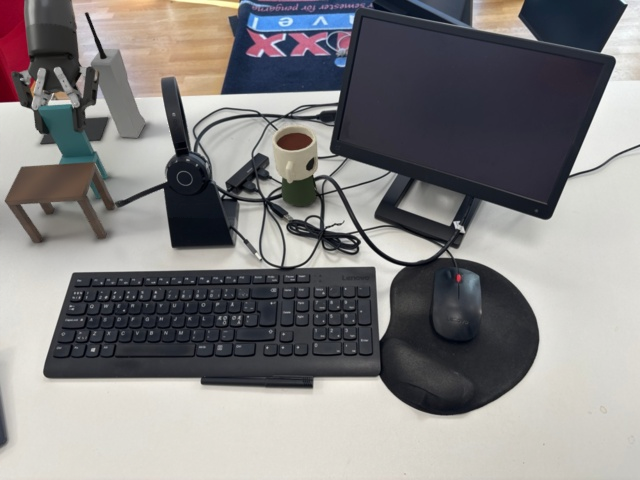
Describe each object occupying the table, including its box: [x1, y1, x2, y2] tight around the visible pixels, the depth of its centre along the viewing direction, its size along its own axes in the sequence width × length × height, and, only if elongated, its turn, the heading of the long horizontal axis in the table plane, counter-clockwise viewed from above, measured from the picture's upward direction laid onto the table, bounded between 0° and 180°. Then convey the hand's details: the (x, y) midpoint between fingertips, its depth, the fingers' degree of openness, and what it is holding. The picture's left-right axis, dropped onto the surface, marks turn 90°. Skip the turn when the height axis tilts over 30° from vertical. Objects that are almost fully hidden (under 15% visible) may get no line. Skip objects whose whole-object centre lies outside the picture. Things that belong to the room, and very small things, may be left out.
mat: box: [40, 116, 109, 145], centre depth 107 cm, size 12×8×1 cm, turn 93°
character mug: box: [271, 124, 319, 207], centre depth 87 cm, size 11×7×13 cm, turn 170°
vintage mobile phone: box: [84, 11, 146, 139], centre depth 97 cm, size 4×5×25 cm
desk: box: [4, 162, 116, 244], centre depth 86 cm, size 12×8×10 cm, turn 93°
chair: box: [38, 103, 109, 199], centre depth 89 cm, size 6×6×16 cm
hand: (61, 132), depth 87 cm, fingers closed on chair, 5 cm apart
